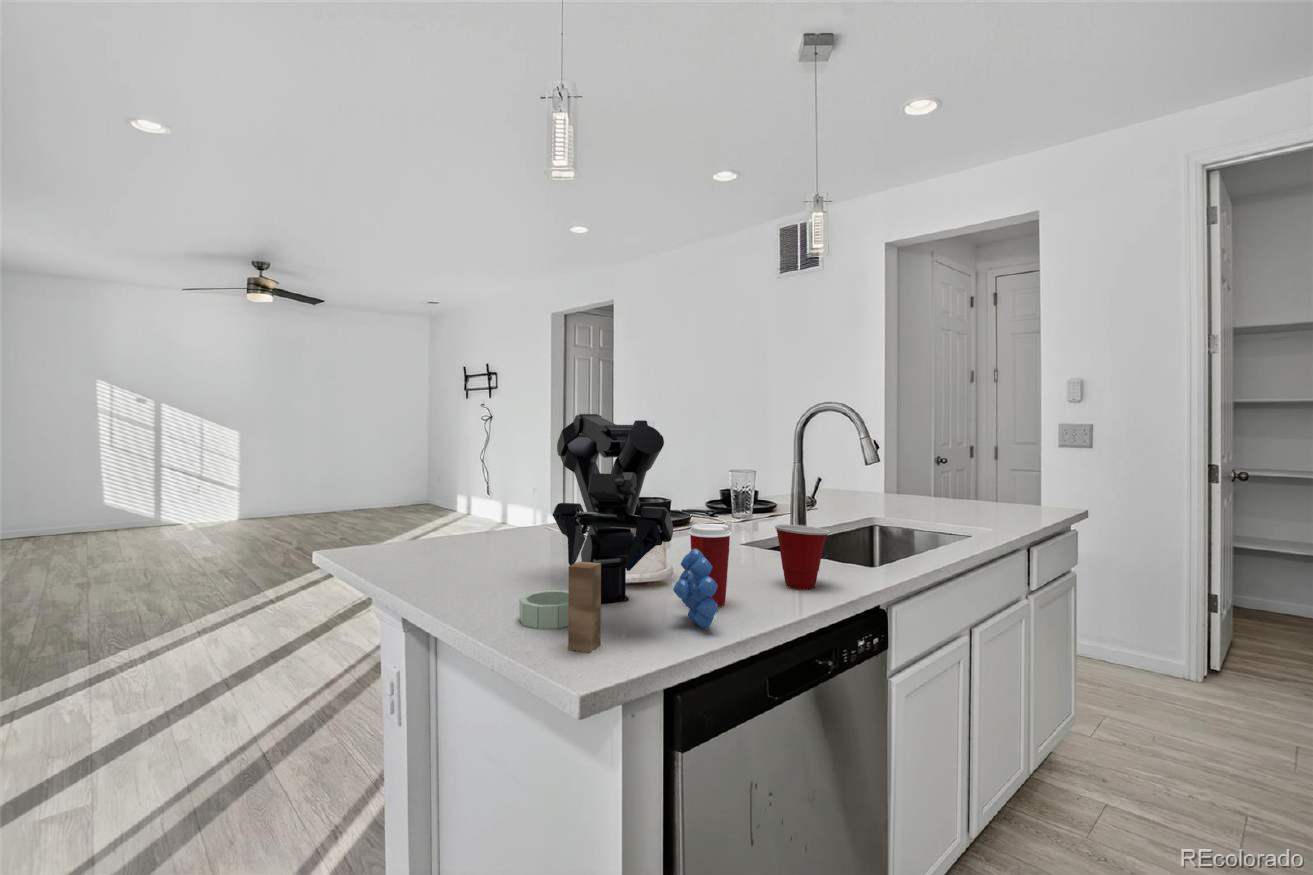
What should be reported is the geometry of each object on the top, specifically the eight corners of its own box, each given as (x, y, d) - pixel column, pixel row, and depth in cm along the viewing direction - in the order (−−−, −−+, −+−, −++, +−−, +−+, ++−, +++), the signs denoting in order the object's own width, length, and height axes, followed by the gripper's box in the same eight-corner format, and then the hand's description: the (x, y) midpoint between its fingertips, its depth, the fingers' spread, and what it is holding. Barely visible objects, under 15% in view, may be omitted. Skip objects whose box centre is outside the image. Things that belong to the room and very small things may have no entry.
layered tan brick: (578, 642, 97) (578, 561, 96) (600, 645, 95) (600, 563, 95) (568, 650, 93) (568, 566, 93) (590, 653, 92) (591, 568, 92)
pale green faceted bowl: (572, 607, 114) (572, 588, 114) (588, 625, 105) (588, 603, 105) (515, 613, 111) (515, 593, 110) (527, 632, 101) (527, 609, 101)
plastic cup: (840, 590, 128) (841, 528, 127) (794, 595, 124) (794, 532, 123) (807, 577, 138) (808, 521, 137) (763, 582, 134) (764, 523, 133)
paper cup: (736, 601, 119) (737, 524, 119) (722, 612, 112) (723, 531, 112) (696, 596, 123) (697, 521, 122) (680, 606, 116) (681, 527, 115)
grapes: (660, 616, 110) (661, 545, 109) (698, 613, 112) (698, 543, 111) (685, 638, 99) (686, 559, 98) (726, 634, 101) (727, 556, 100)
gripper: (557, 452, 106) (524, 531, 95) (668, 455, 100) (646, 539, 90) (577, 496, 113) (548, 573, 103) (681, 500, 108) (662, 583, 97)
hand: (598, 567), depth 98 cm, fingers open, 9 cm apart
